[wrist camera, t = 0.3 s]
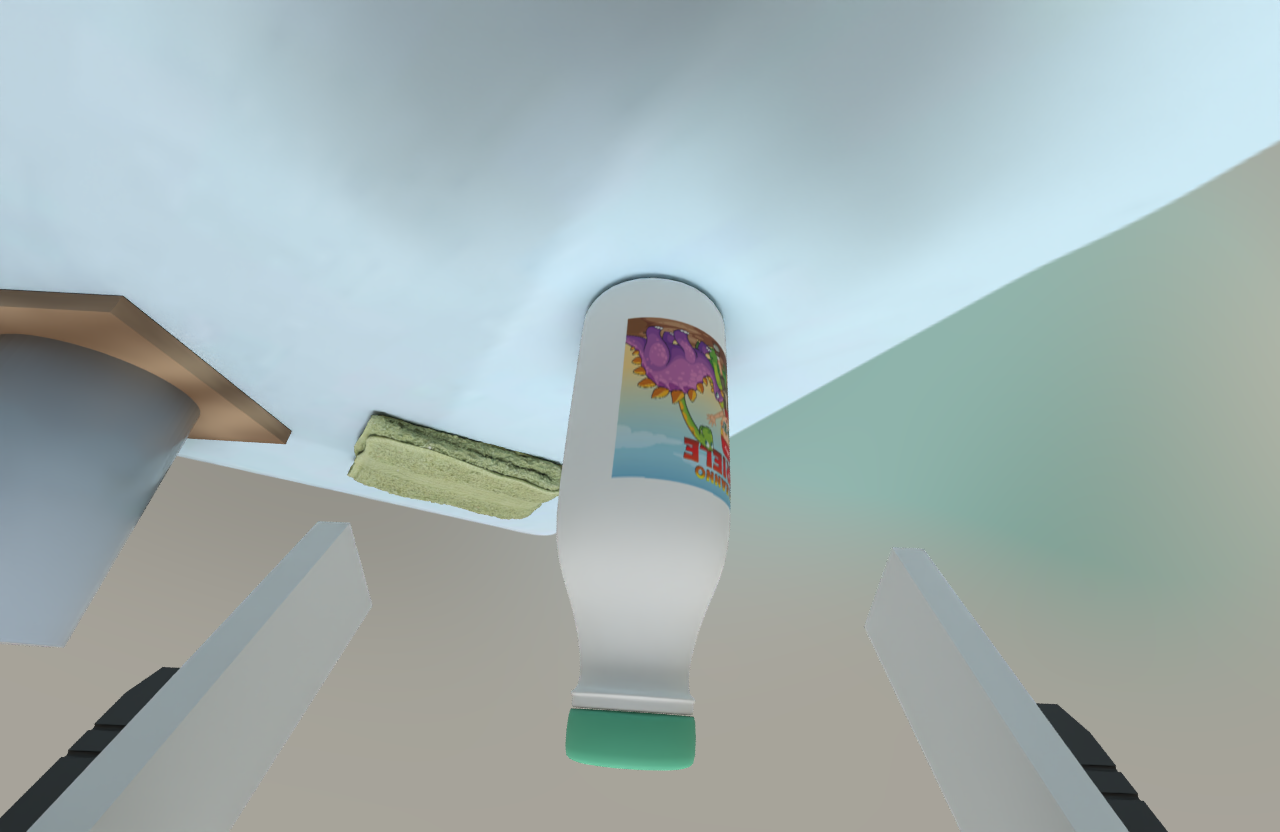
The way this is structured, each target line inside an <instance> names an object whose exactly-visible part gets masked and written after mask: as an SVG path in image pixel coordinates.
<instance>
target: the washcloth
mask: <svg viewBox="0 0 1280 832" xmlns="http://www.w3.org/2000/svg"><path fill="white" fill-rule="evenodd" d="M354 452H355V454H356V458H355V460H354V463H353V465H352V466H351V468H350V470H349V472H348V474H347V475H348V476H350V477H353V478H354V480H355V481H357V482H360V483H363V484H364V485H367V486H371V487H375V488H377V489H380V490H383V491H388V492H389V494H395V495H399V496H402V497H408V498H411V499H419V500H424V501H431V503H435V502H436V503H439V504H446V505H451V506H455V507H458V508H462V509H466V510H469V511H473V512H476V513H478V514H484V515H489V516H496V517H497V518H500V519H508V520H509V519H512V518H513V519H522V518H525V517H528V516H529V515H531V514H532V512H533V511H534V510H536V509H537V508H539V507H540V506H541V505H542V503H544V502H548V501H549V500H551V499H553V498H555V497H556V496H559V489H560V480H561V472H562V465H558V464H555V463H552V462H549V461H545V460H542V459H539V458H536V457H533V456H531V455H528V454H524V453H521V452H517V451H510V450H507V449H505V448H503V447H499V446H495V445H491V444H487V443H483V442H478V441H473V440H470V439H468V438H462V437H458V436H457V435H451V434H447V433H444V432H438V431H435V430H433V429H430V428H424V427H421V426H416V425H412V424H411V423H408V422H404V421H403V420H400V419H395V418H393V417H387V416H384V415H378V416H377V415H371V418H370V420H369V421H368V423H367V426H366V428H365V429H364V432H363V434H362V435H361V436H360V438H359V439H358V441H357V442H356V444H355V446H354Z"/></svg>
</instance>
